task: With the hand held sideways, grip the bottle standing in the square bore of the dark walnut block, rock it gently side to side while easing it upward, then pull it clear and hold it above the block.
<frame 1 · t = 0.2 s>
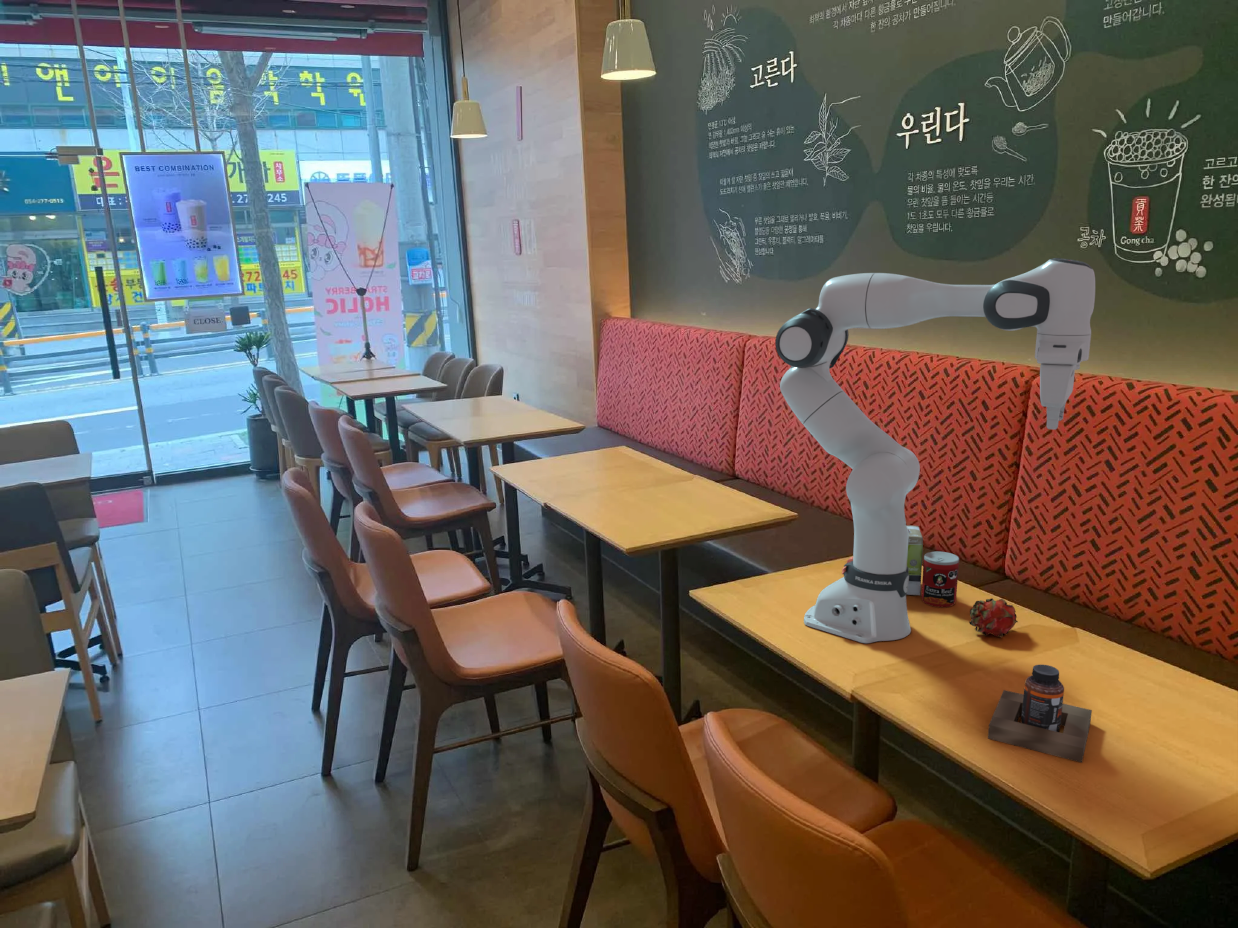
hand: (1054, 424, 162), 48 cm above the table, tool pointing down, fingers open, 8 cm apart
walnut socket block: (1039, 730, 148), on the table
supplement bottle: (1039, 731, 148), resting in walnut socket block
dragon fruit: (992, 633, 186), on the table
tea box: (885, 588, 213), on the table
canned food: (938, 602, 203), on the table
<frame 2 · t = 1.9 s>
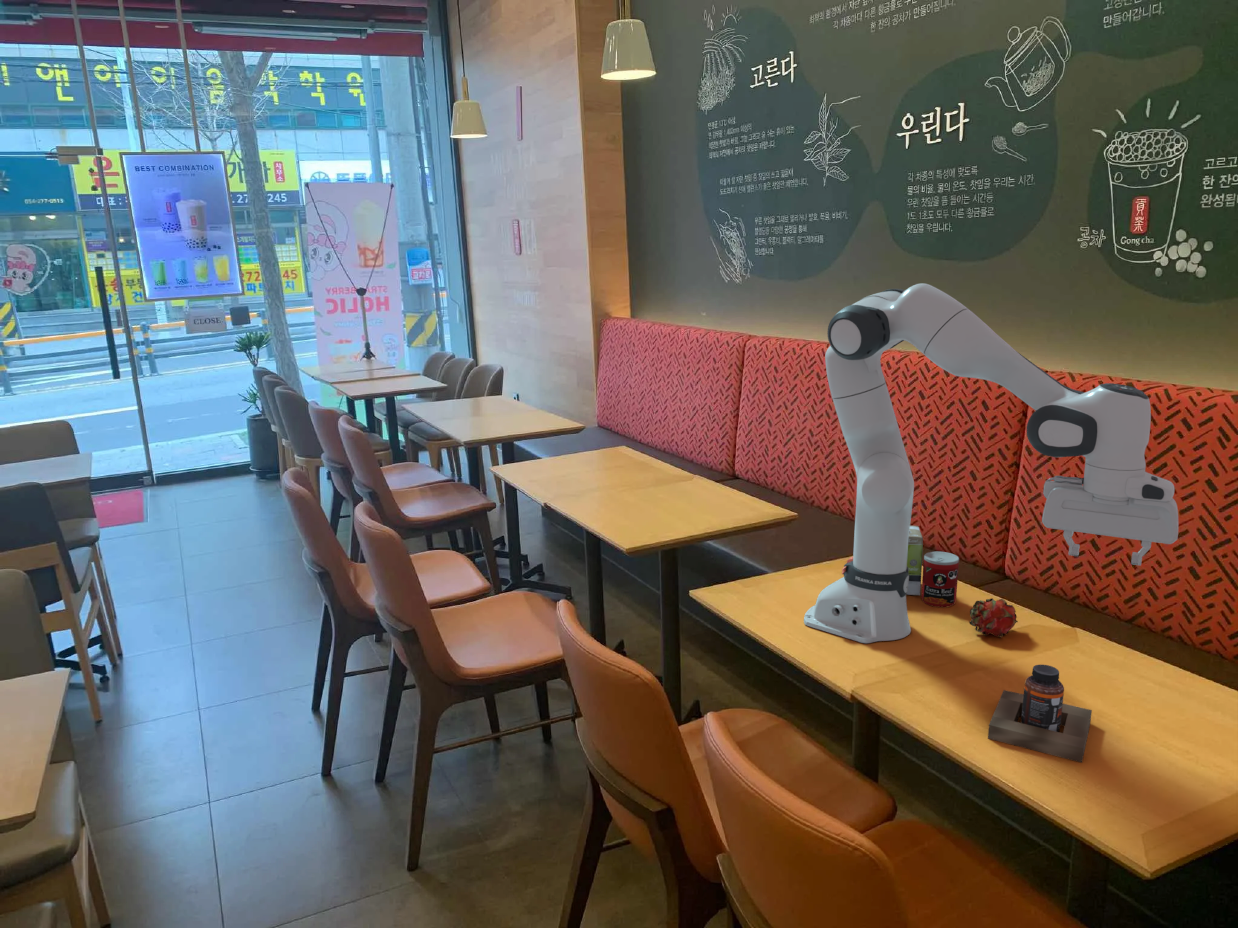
hand: (1104, 559, 150), 27 cm above the table, tool pointing down, fingers open, 8 cm apart
nothing on the table moved.
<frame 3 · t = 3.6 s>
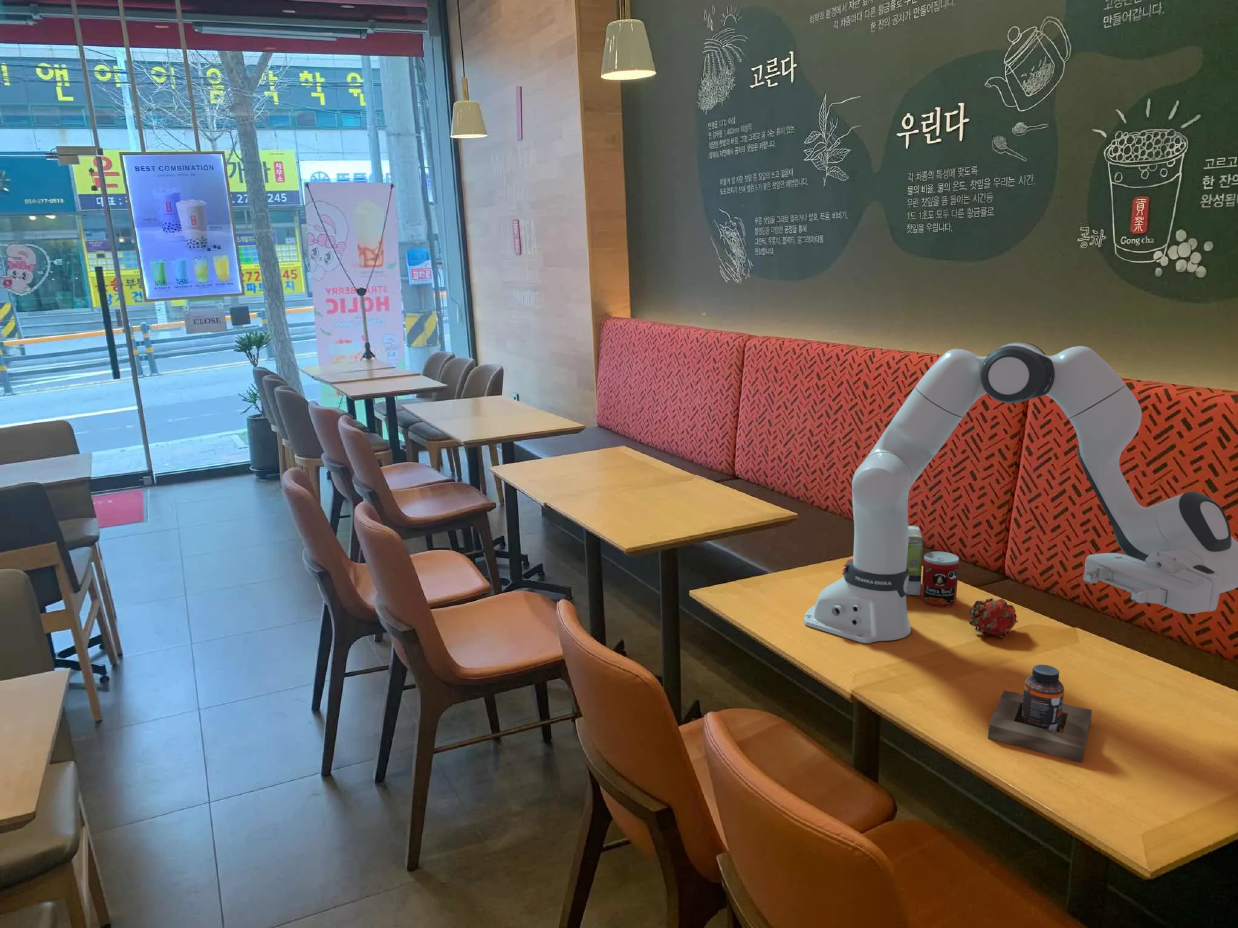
hand: (1110, 587, 146), 24 cm above the table, tool horizontal, fingers open, 8 cm apart
nothing on the table moved.
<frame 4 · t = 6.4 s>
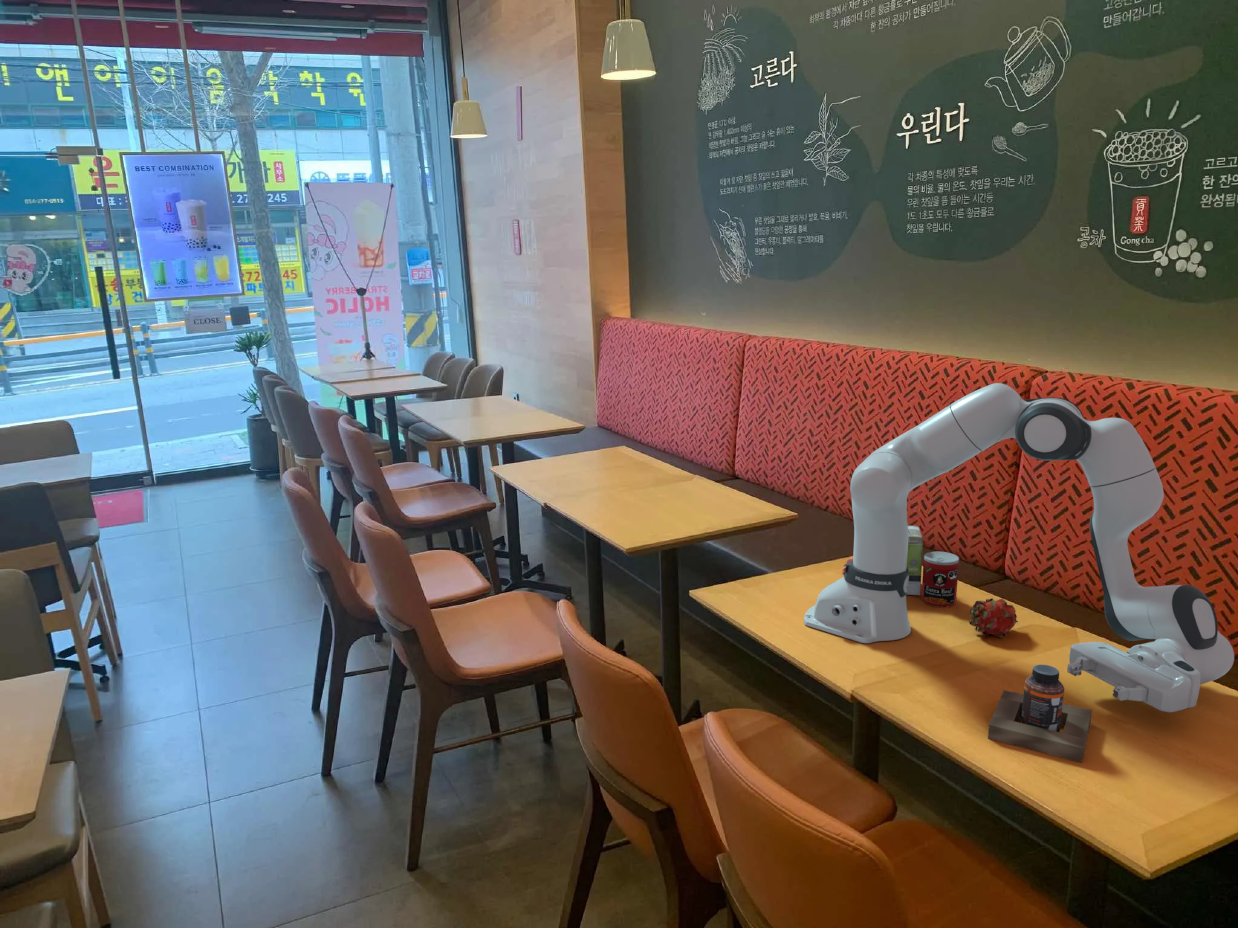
hand: (1092, 681, 150), 7 cm above the table, tool horizontal, fingers open, 8 cm apart
nothing on the table moved.
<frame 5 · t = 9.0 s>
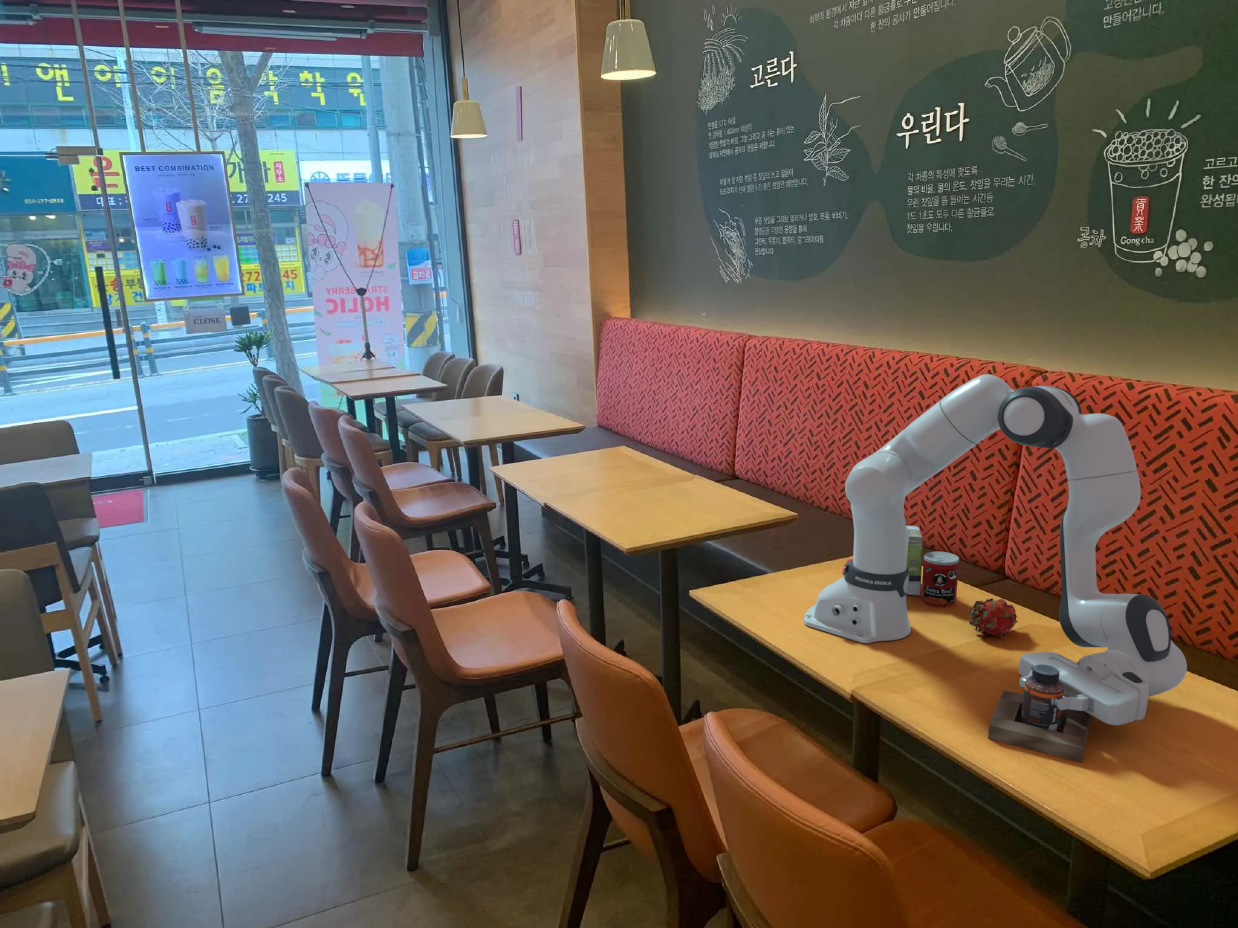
hand: (1039, 693, 146), 7 cm above the table, tool horizontal, fingers closed on supplement bottle, 6 cm apart
supplement bottle: (1039, 731, 148), resting in walnut socket block, touching gripper
everything else where it was.
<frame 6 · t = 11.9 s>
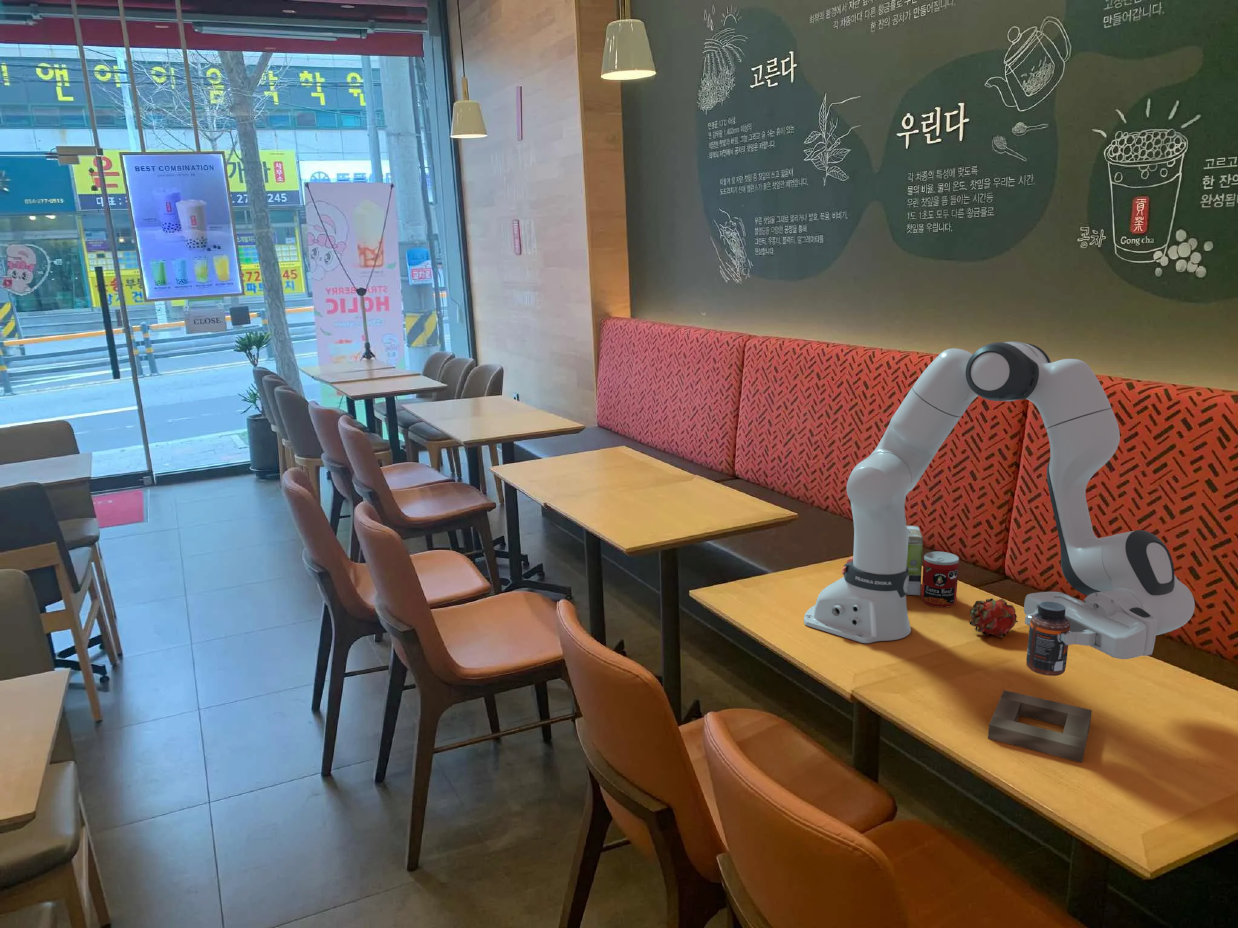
hand: (1045, 629, 143), 18 cm above the table, tool horizontal, fingers closed on supplement bottle, 6 cm apart
supplement bottle: (1045, 670, 145), point 11 cm above the table, touching gripper
everything else where it was.
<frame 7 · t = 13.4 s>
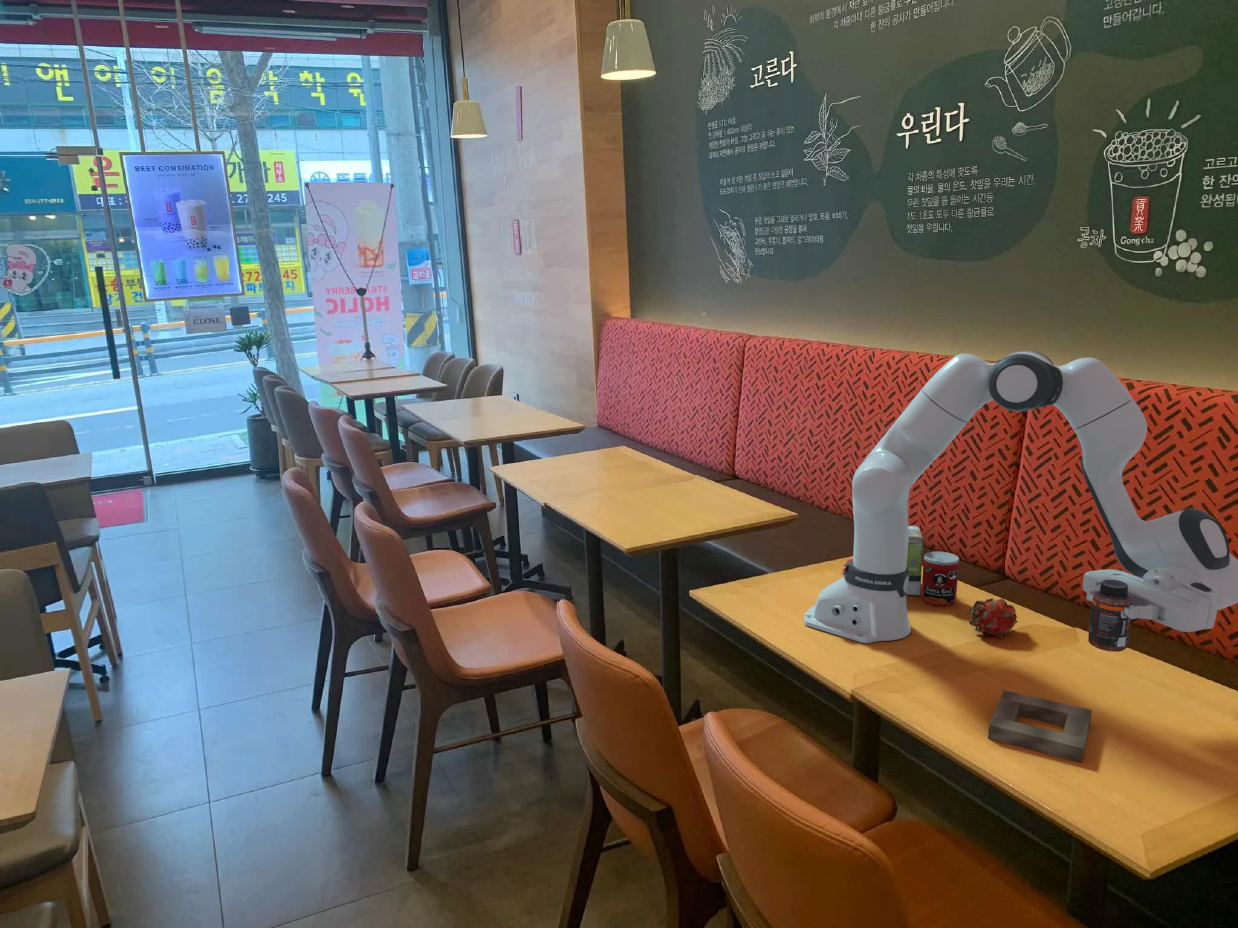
hand: (1108, 604, 147), 21 cm above the table, tool horizontal, fingers closed on supplement bottle, 6 cm apart
supplement bottle: (1107, 646, 149), point 13 cm above the table, touching gripper
everything else where it was.
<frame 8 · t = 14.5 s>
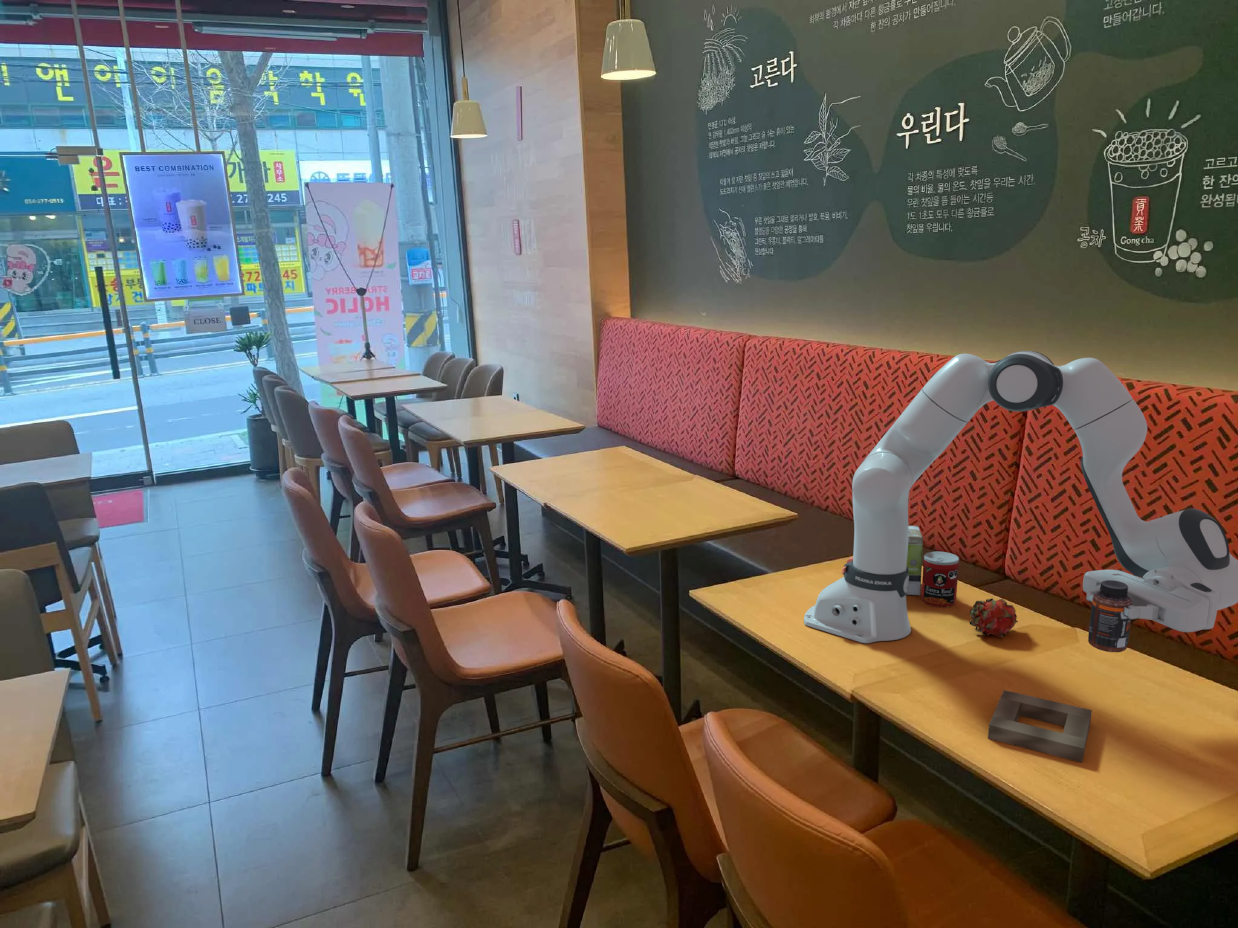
hand: (1108, 604, 147), 21 cm above the table, tool horizontal, fingers closed on supplement bottle, 6 cm apart
supplement bottle: (1107, 647, 149), point 13 cm above the table, touching gripper
everything else where it was.
at the end: supplement bottle point 13.0 cm above the table; supplement bottle touching gripper; supplement bottle tilted 1° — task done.
